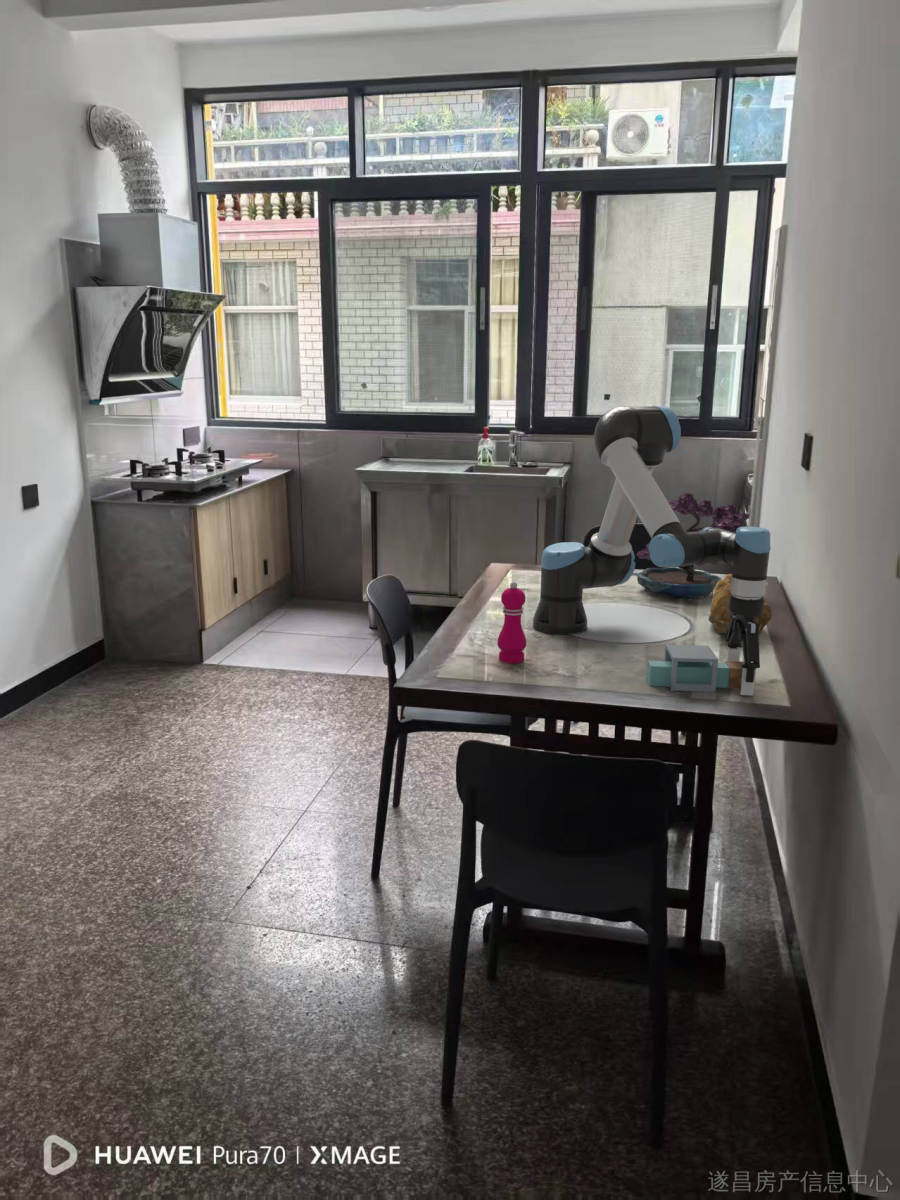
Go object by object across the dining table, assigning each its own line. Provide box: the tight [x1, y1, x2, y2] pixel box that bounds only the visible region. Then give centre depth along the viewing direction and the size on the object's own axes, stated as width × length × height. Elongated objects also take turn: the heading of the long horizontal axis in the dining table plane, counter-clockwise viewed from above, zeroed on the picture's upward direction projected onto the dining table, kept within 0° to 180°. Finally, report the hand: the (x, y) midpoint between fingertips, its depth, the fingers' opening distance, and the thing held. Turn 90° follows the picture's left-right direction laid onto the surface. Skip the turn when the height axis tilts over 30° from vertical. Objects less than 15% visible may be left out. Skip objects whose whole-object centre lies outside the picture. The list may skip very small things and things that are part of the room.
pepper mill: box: [496, 581, 527, 664], centre depth 226 cm, size 7×7×20 cm
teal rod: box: [646, 660, 730, 689], centre depth 212 cm, size 18×4×5 cm, turn 88°
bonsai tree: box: [635, 492, 751, 600], centre depth 293 cm, size 35×27×32 cm
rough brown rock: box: [708, 573, 773, 635], centre depth 254 cm, size 23×16×15 cm
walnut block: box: [724, 660, 744, 690], centre depth 212 cm, size 5×5×5 cm
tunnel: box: [663, 644, 719, 693], centre depth 212 cm, size 10×10×8 cm
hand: (739, 684), depth 212 cm, fingers open, 13 cm apart
